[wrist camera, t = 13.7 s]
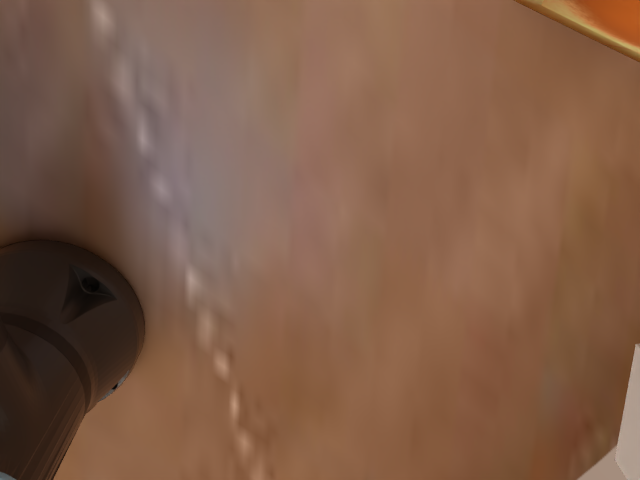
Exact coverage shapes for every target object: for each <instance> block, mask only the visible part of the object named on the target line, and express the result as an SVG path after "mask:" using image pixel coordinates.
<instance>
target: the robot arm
mask: <svg viewBox="0 0 640 480" xmlns="http://www.w3.org/2000/svg"><path fill="white" fill-rule="evenodd" d="M144 332H145V328H144V318H143V313H142V309H141V306H140V304H139V301H138V299H137V297H136V295H135V293H134V291H133V290H132V288H131V287H130V285H129V284H128V283H127V281H126V280H125V279H124V278H123V277H122V276H121V274H120V273H119V272H117V271H116V270H115V269H114V268H113V267H112V266H111V265H109V264H108V263H107V262H105V261H104V260H103V259H101V258H99V257H98V256H96V255H94V254H93V253H90V252H88V251H86V250H84V249H82V248H79V247H76V246H73V245H70V244H66V243H62V242H56V241H47V240H33V241H24V242H19V243H15V244H12V245H9V246H6V247H4V248H1V249H0V480H53V478H54V476H55V474H56V472H57V470H58V468H59V466H60V464H61V462H62V460H63V458H64V456H65V454H66V452H67V450H68V448H69V446H70V444H71V442H72V440H73V438H74V436H75V434H76V432H77V430H78V428H79V426H80V424H81V422H82V420H83V418H84V416H85V414H86V413H87V412H89V411H90V410H91V409H92V408H93V407H94V406H95V405H96V404H97V402H99V401H101V400H103V399H104V398H106V397H107V396H109V395H110V394H112V393H113V392H114V391H115V390H116V389H117V388H118V387H119V386H120V385H121V384H122V383H123V382H124V381H125V380H126V378H127V377H128V375H129V374H130V372H131V371H132V369H133V367H134V365H135V362H136V360H137V358H138V356H139V354H140V351H141V349H142V345H143V341H144ZM615 461H616V463H617V464H618V466H619V468H620V469H621V470H622V472H623V474H624V475H625V476H626V478H627V480H640V344H636V347H635V352H634V358H633V363H632V369H631V374H630V380H629V385H628V390H627V396H626V401H625V407H624V412H623V418H622V423H621V429H620V434H619V439H618V445H617V450H616V456H615Z"/></svg>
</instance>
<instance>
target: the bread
mask: <svg viewBox="0 0 640 480" xmlns="http://www.w3.org/2000/svg"><path fill="white" fill-rule="evenodd" d="M514 1H516V2H518V3H520V4H522V5H524V6H526V7H528V8H530V9H532V10H534V11H536V12H539V13H541V14H543V15H545V16H547V17H549V18H551V19H553V20H555V21H557V22H559V23H561V24H563V25H565V26H567V27H569V28H571V29H573V30H575V31H577V32H579V33H581V34H583V35H585V36H587V37H589V38H591V39H593V40H595V41H597V42H599V43H601V44H604V45H606V46H608V47H610V48H612V49H614V50H616V51H618V52H620V53H622V54H624V55H626V56H628V57H630V58H632V59H634V60H636V61H638V62H640V0H514Z"/></svg>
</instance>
